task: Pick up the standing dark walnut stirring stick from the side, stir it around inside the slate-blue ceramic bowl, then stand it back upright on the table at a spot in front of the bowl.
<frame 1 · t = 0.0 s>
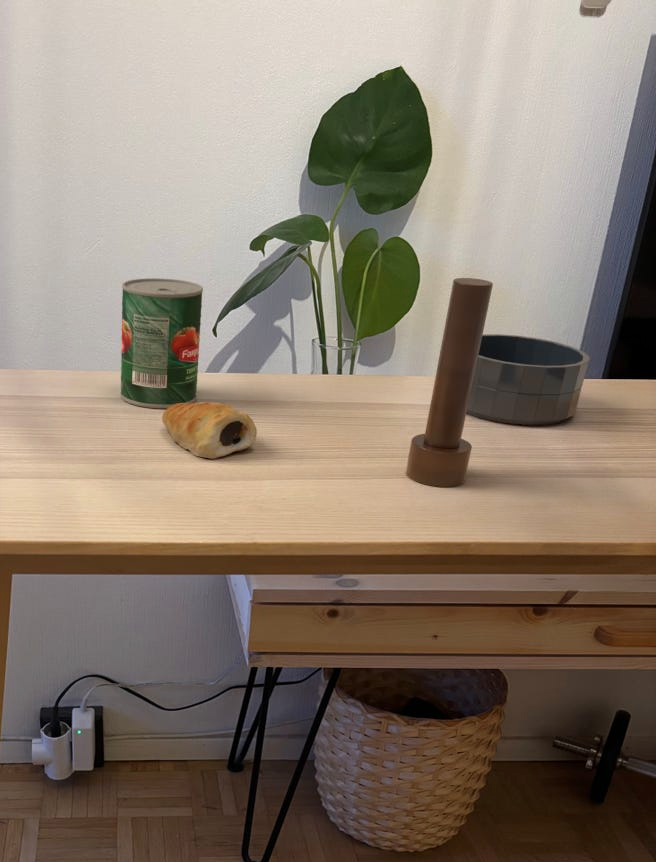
hand: (592, 12, 64), 34 cm above the table, tool pointing down, fingers open, 8 cm apart
stirrer: (435, 476, 82), on the table
pastry: (205, 445, 87), on the table
bowl: (508, 407, 101), on the table
canned tomato: (158, 399, 98), on the table
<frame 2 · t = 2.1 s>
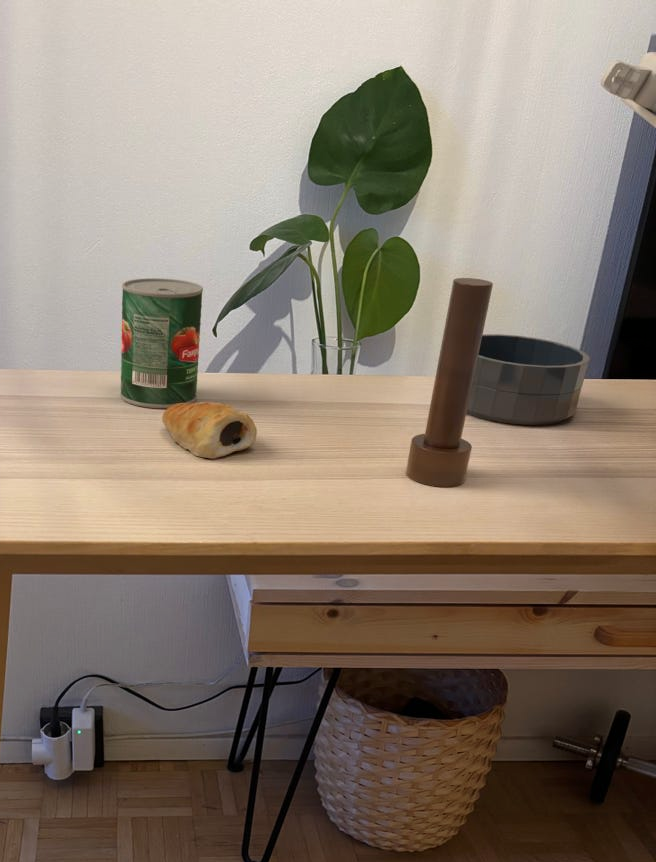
hand: (640, 99, 64), 29 cm above the table, tool horizontal, fingers open, 8 cm apart
nothing on the table moved.
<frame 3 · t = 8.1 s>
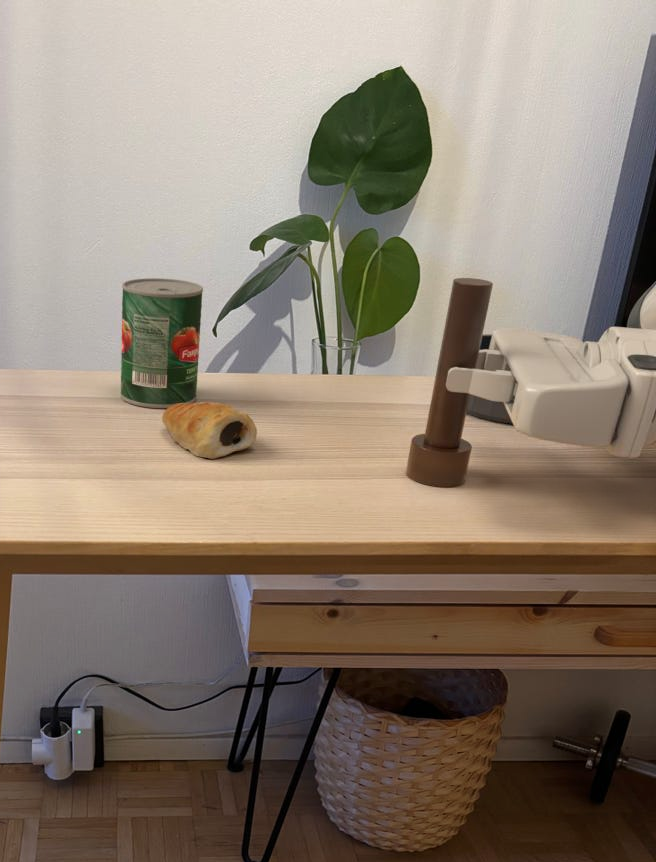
hand: (444, 370, 78), 9 cm above the table, tool horizontal, fingers closed on stirrer, 3 cm apart
stirrer: (435, 476, 82), on the table, touching gripper
everything else where it was.
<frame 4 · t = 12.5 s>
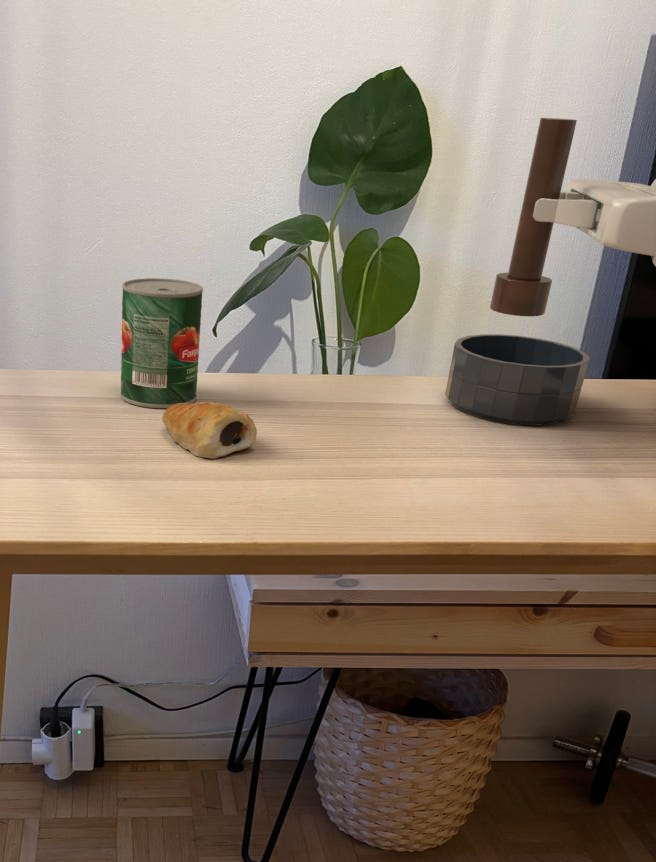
hand: (529, 206, 86), 20 cm above the table, tool horizontal, fingers closed on stirrer, 3 cm apart
stirrer: (516, 310, 91), point 11 cm above the table, touching gripper
everything else where it was.
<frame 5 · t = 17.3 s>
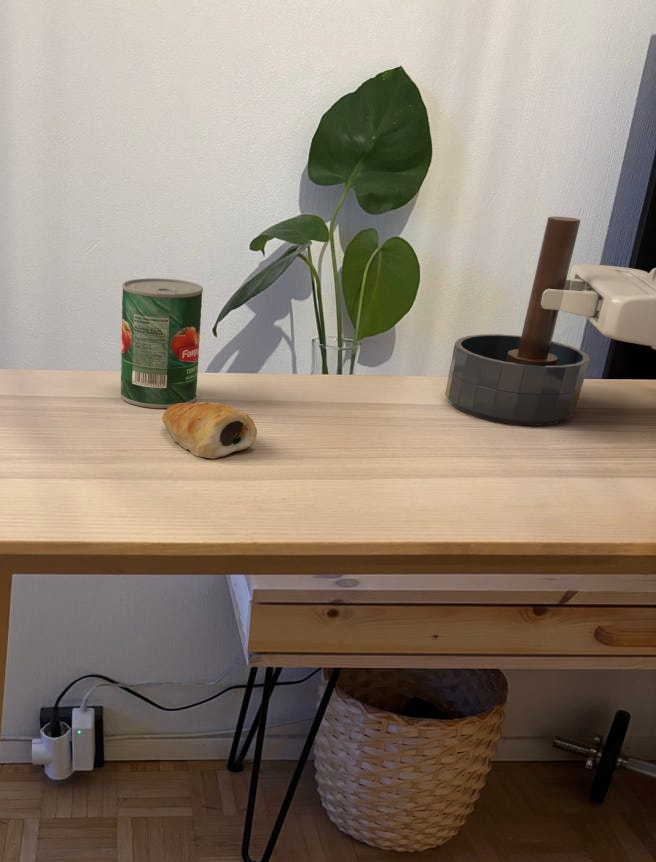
hand: (537, 293, 96), 11 cm above the table, tool horizontal, fingers closed on stirrer, 3 cm apart
stirrer: (525, 383, 100), point 2 cm above the table, touching gripper
everything else where it was.
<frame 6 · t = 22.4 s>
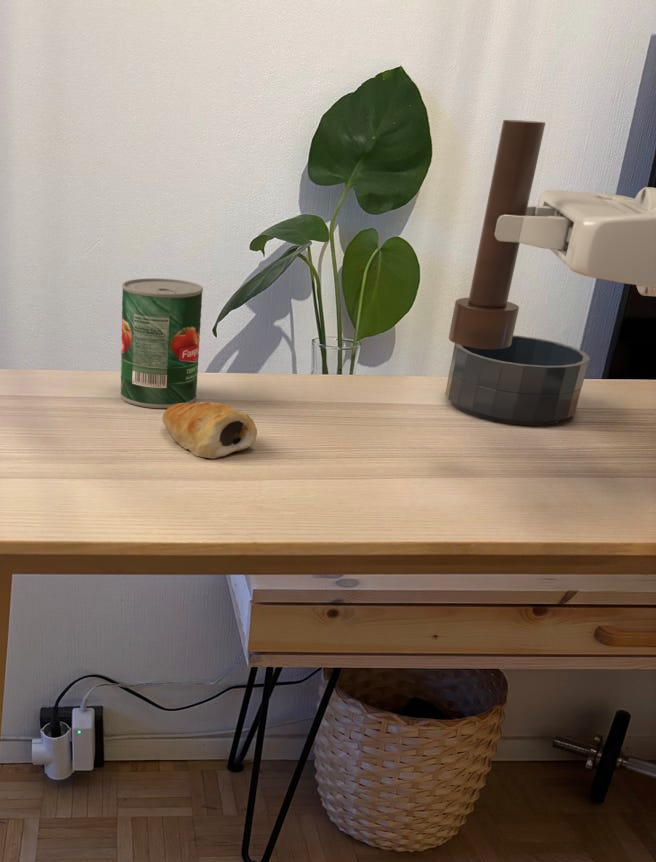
hand: (492, 223, 74), 20 cm above the table, tool horizontal, fingers closed on stirrer, 3 cm apart
stirrer: (479, 341, 79), point 11 cm above the table, touching gripper
everything else where it was.
when the fingers open (9 cm above the table, at t = 26.6 s): stirrer stays where it is, on the table.
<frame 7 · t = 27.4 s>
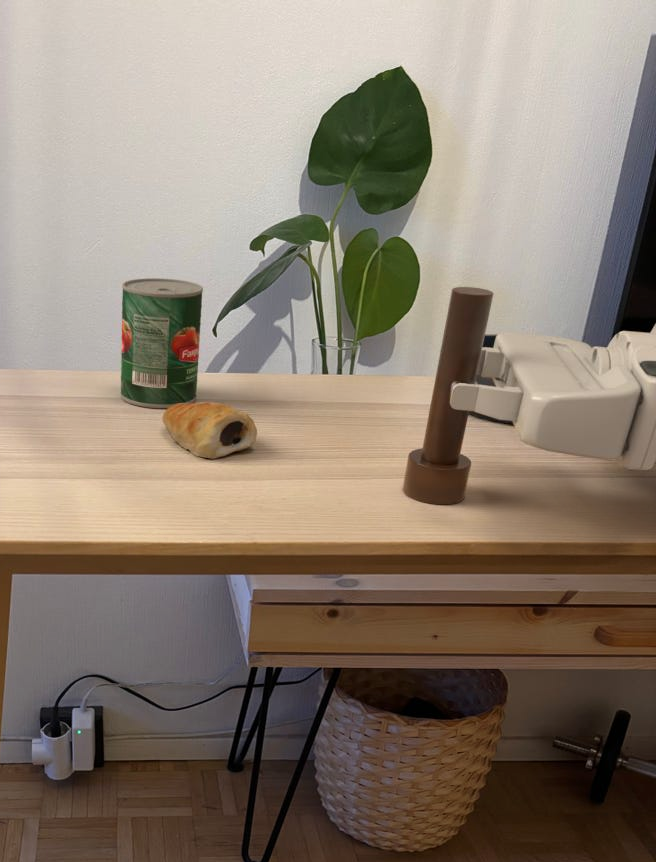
hand: (445, 377, 74), 10 cm above the table, tool horizontal, fingers open, 8 cm apart
stirrer: (433, 492, 79), on the table
everything else where it was.
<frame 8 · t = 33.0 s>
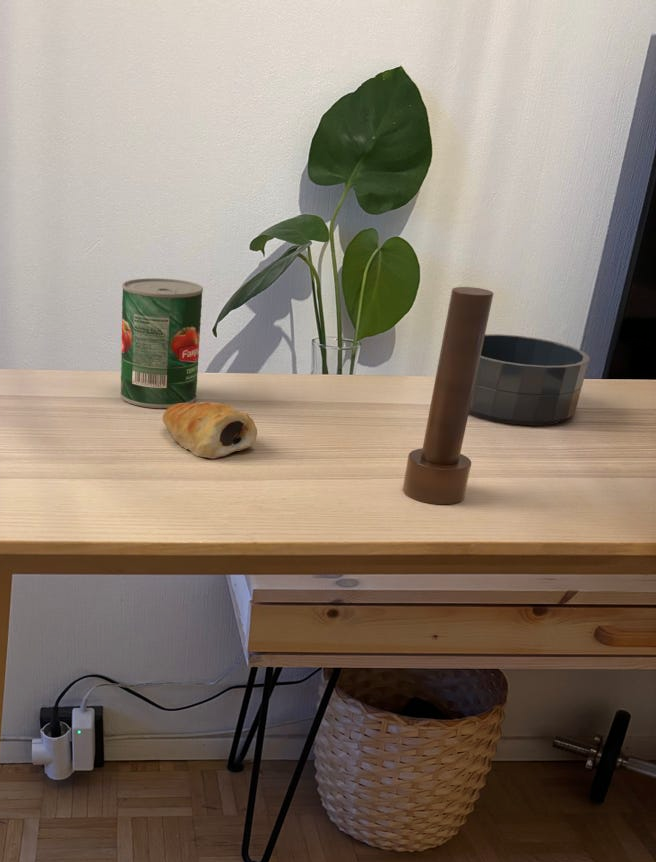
nothing on the table moved.
at the end: stirrer inside the target area on the table beside the bowl (0.2 cm from its centre), on the table; stirrer tilted 0°; the gripper is holding nothing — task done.
